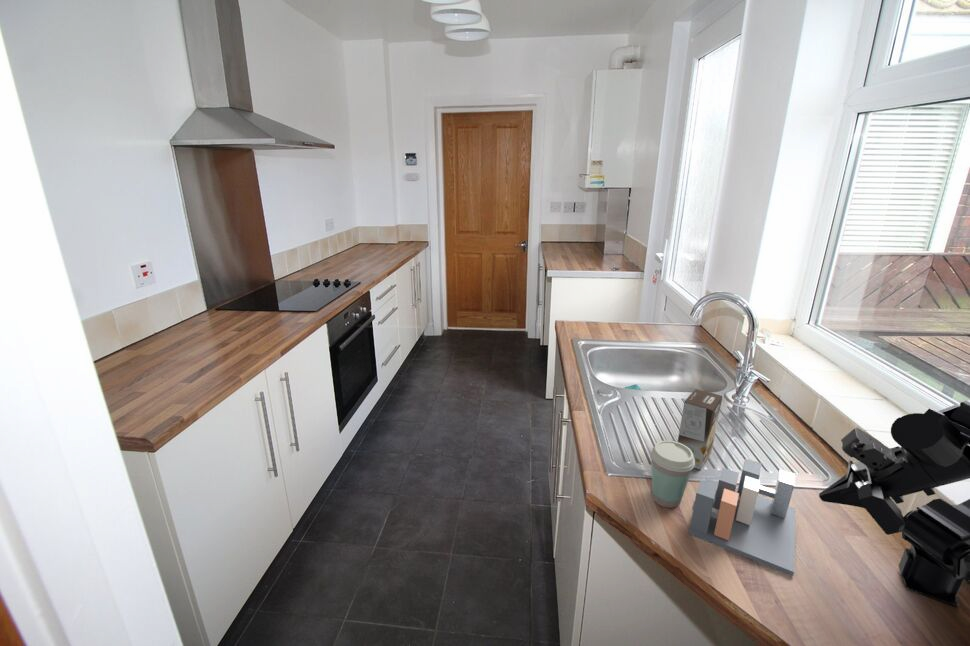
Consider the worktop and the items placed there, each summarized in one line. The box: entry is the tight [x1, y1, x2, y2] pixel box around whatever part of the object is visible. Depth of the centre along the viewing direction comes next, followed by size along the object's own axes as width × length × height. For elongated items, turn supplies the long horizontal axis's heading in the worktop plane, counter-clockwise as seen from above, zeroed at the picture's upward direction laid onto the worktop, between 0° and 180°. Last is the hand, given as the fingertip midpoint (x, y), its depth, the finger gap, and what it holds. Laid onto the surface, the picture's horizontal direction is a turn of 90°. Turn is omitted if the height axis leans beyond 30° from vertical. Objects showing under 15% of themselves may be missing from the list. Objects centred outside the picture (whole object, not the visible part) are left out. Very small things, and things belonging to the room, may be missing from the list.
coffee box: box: [677, 388, 723, 470], centre depth 107 cm, size 9×6×16 cm
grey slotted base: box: [688, 458, 797, 577], centre depth 88 cm, size 17×18×9 cm
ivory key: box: [715, 476, 761, 525], centre depth 89 cm, size 7×4×8 cm, turn 56°
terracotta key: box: [691, 488, 739, 541], centre depth 85 cm, size 7×4×8 cm, turn 56°
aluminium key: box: [758, 469, 796, 518], centre depth 91 cm, size 7×4×8 cm, turn 56°
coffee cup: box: [650, 440, 695, 508], centre depth 94 cm, size 8×8×12 cm
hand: (820, 497), depth 78 cm, fingers closed
